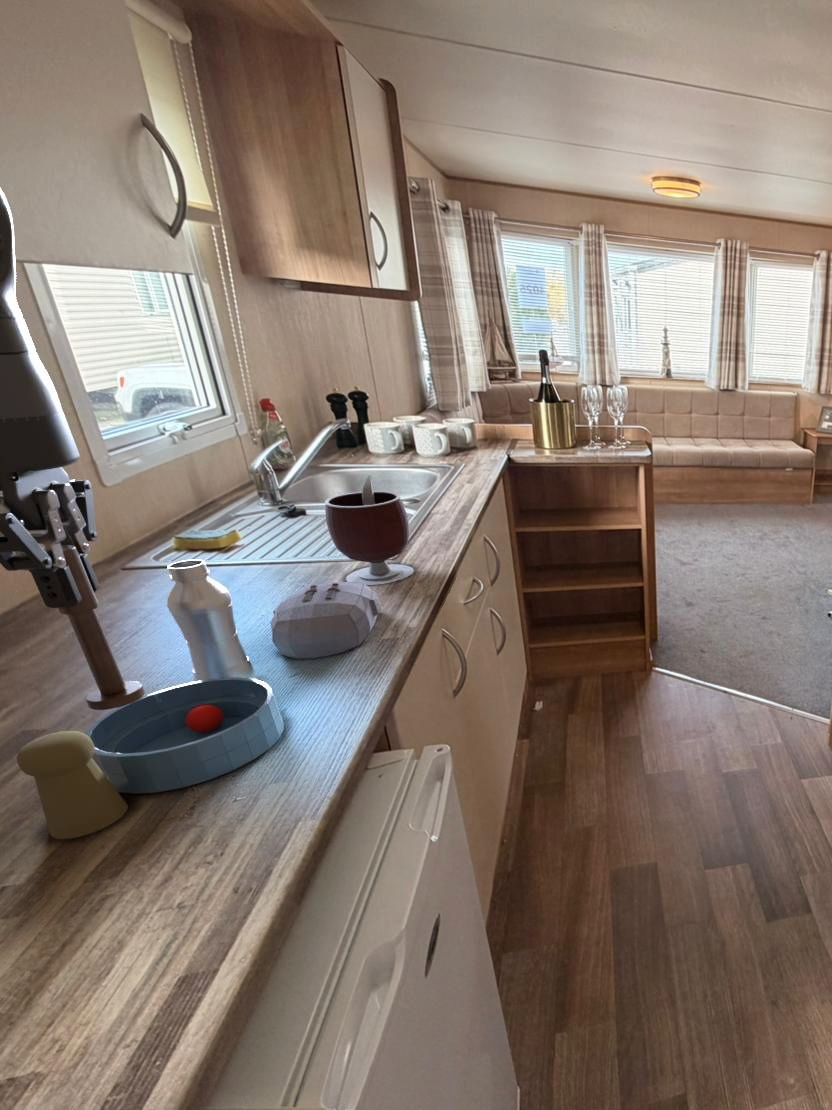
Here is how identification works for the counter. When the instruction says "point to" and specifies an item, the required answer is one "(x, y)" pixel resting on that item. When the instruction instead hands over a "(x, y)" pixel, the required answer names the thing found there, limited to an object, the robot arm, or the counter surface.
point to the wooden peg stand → (96, 643)
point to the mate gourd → (370, 532)
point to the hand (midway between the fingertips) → (74, 598)
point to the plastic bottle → (207, 623)
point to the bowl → (185, 735)
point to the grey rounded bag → (324, 619)
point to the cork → (71, 784)
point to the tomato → (204, 718)
